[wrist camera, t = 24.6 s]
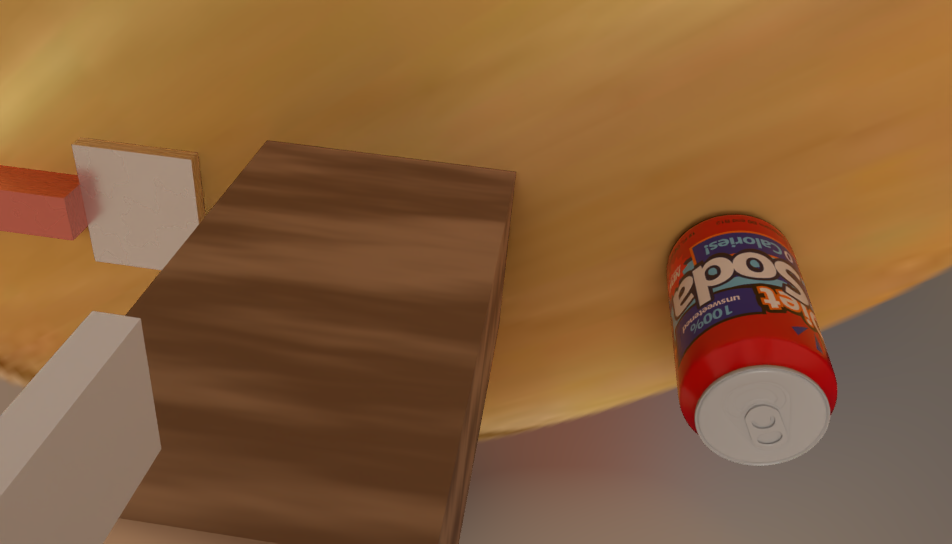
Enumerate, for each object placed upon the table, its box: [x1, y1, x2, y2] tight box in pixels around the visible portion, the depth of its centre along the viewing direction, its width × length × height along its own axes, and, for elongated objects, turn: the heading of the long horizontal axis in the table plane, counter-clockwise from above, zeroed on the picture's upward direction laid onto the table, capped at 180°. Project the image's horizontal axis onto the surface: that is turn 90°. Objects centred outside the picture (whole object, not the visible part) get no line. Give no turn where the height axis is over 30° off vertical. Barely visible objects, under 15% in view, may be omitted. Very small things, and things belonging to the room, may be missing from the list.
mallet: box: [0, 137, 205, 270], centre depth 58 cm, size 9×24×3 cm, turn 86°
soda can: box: [667, 215, 837, 466], centre depth 49 cm, size 8×8×15 cm
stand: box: [103, 141, 516, 544], centre depth 45 cm, size 12×16×30 cm
